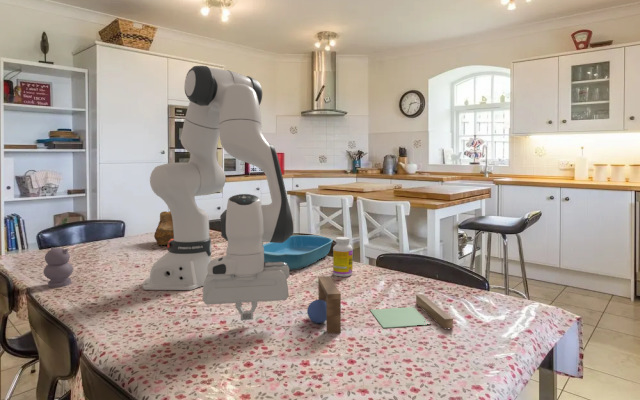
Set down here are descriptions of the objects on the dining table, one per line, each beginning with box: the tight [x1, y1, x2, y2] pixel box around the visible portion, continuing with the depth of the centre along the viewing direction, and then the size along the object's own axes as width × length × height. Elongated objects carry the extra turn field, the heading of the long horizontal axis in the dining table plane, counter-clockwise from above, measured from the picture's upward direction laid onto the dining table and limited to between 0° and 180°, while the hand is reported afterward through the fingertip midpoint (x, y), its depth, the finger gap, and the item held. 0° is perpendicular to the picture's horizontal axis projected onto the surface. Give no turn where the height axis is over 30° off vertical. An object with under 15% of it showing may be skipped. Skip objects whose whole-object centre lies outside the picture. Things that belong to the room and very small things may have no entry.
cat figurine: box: [43, 247, 74, 289], centre depth 137 cm, size 8×8×12 cm
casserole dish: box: [263, 234, 334, 270], centre depth 168 cm, size 37×22×7 cm, turn 154°
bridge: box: [317, 275, 342, 334], centre depth 105 cm, size 3×15×9 cm, turn 9°
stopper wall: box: [415, 293, 454, 329], centre depth 109 cm, size 2×18×2 cm, turn 9°
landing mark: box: [369, 306, 431, 329], centre depth 108 cm, size 12×12×1 cm
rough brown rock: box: [153, 210, 174, 246], centre depth 199 cm, size 23×17×15 cm
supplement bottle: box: [332, 236, 353, 278], centre depth 147 cm, size 7×7×13 cm
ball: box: [307, 299, 326, 324], centre depth 105 cm, size 6×6×6 cm
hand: (246, 319), depth 103 cm, fingers closed
